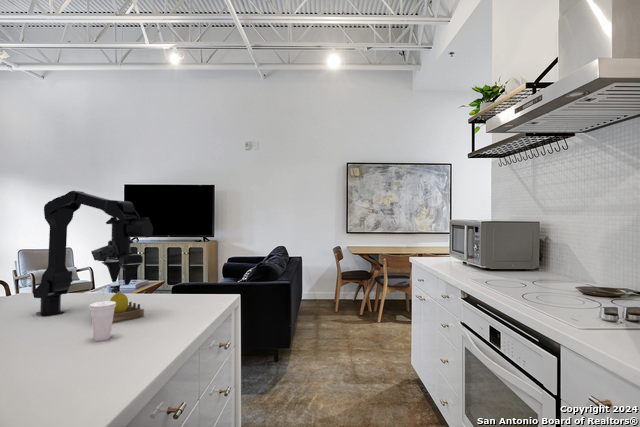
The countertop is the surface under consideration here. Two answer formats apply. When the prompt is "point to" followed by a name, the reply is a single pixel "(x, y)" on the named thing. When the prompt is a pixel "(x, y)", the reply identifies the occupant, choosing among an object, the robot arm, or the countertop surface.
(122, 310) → the lemon
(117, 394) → the countertop surface
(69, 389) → the countertop surface
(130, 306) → the tray
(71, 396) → the countertop surface
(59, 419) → the countertop surface
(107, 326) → the smoothie
